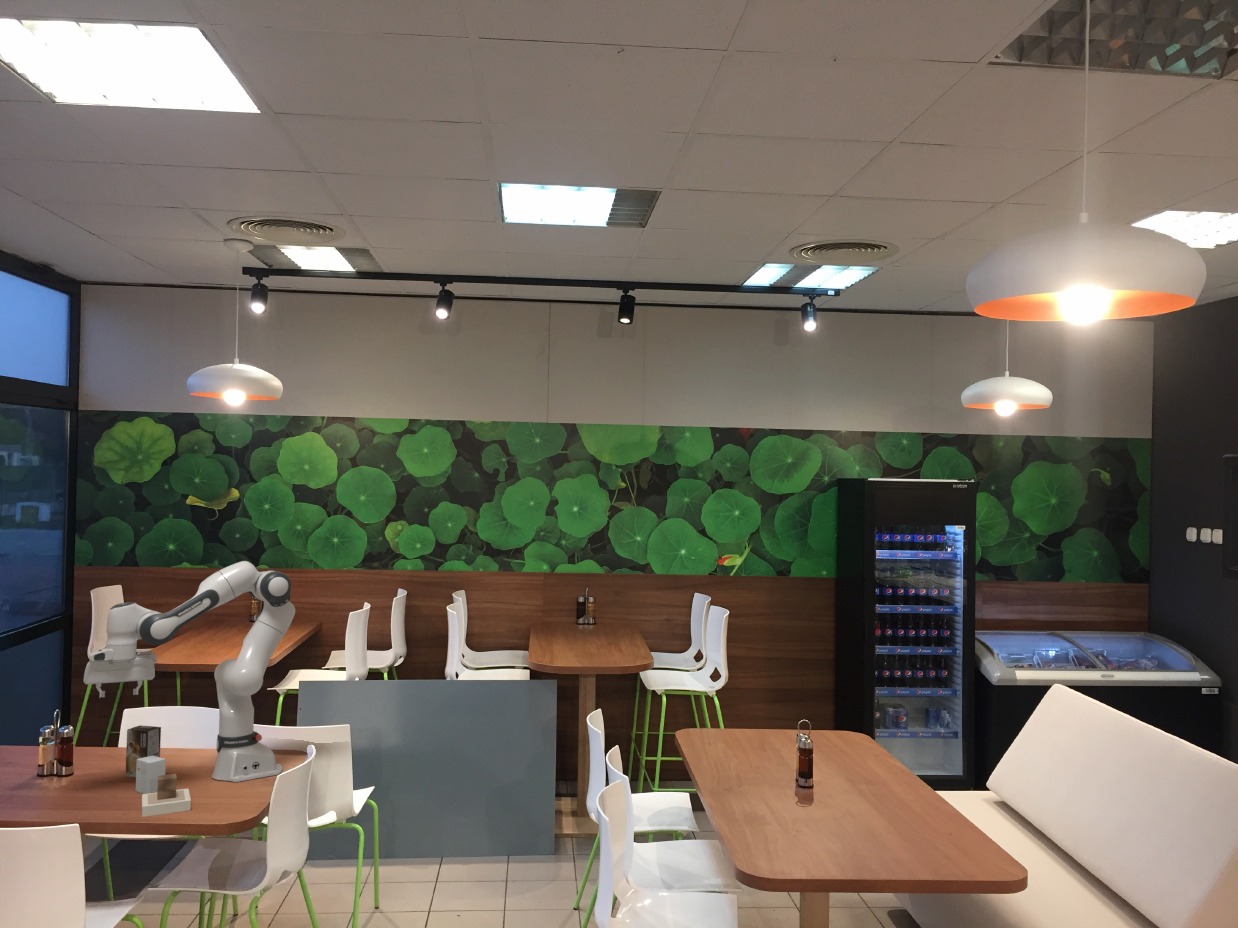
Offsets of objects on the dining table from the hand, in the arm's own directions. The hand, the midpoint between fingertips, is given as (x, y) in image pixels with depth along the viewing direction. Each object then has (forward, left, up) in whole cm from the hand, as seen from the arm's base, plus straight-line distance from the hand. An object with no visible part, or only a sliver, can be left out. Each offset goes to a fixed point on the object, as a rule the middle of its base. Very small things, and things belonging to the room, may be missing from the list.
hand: (119, 695), depth 283 cm
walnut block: (-14, +22, -28) cm, 38 cm away
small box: (-10, +3, -31) cm, 33 cm away
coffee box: (-8, -18, -31) cm, 37 cm away
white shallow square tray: (-14, +22, -31) cm, 41 cm away
